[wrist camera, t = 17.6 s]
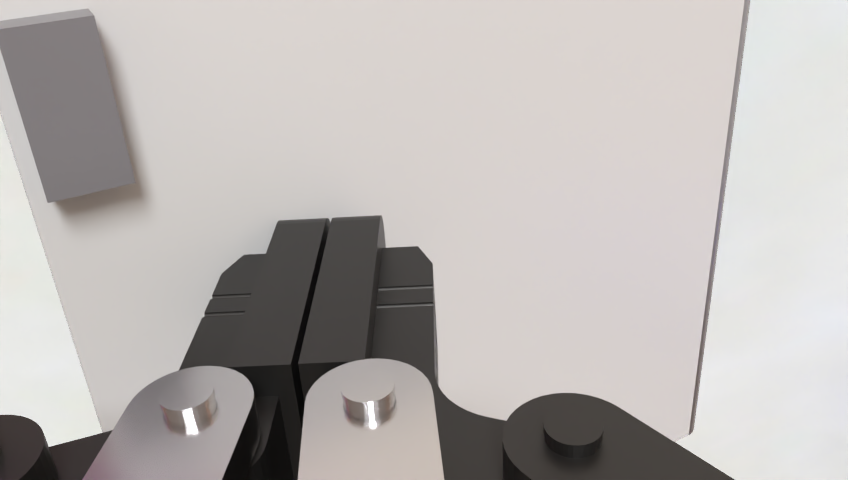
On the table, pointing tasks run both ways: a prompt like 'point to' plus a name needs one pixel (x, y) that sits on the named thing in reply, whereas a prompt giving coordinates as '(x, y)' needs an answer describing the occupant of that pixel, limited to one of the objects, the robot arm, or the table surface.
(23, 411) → the table surface
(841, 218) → the table surface
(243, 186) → the cover
